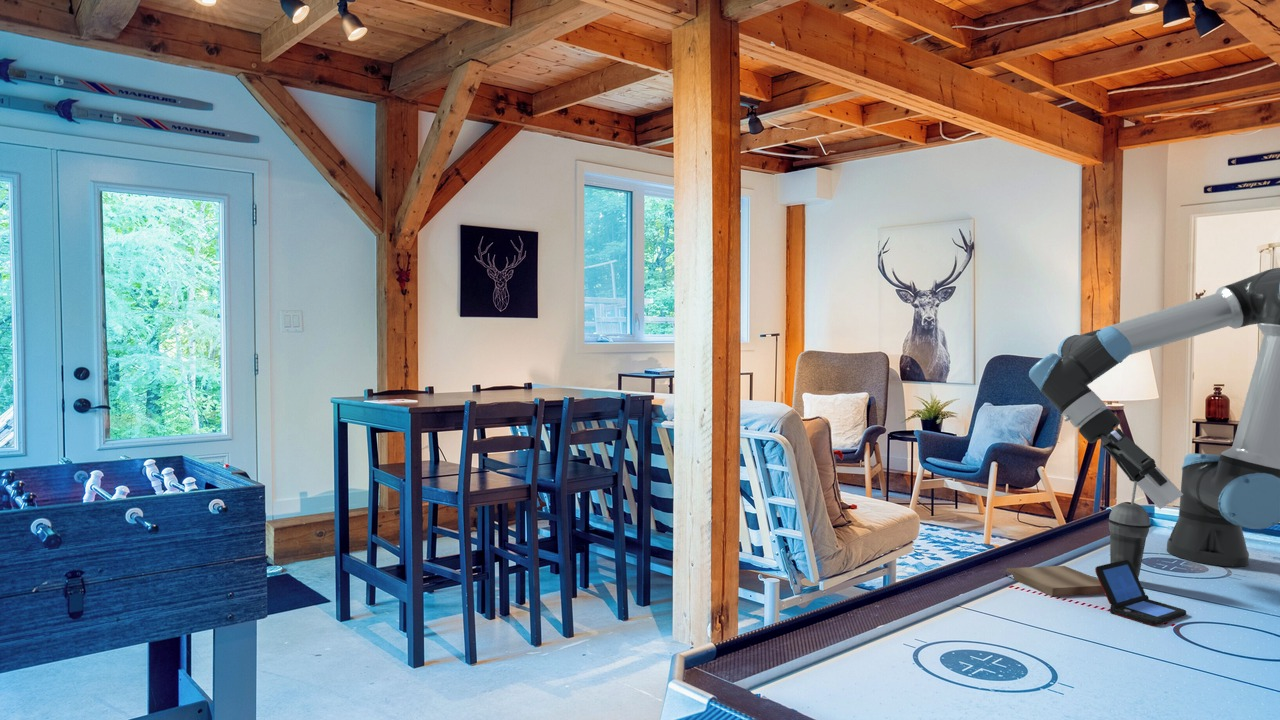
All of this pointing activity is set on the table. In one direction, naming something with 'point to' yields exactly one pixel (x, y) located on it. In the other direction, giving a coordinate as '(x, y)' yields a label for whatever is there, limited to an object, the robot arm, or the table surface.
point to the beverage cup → (1128, 532)
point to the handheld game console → (1132, 595)
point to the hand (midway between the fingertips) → (1171, 502)
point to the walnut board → (1057, 580)
